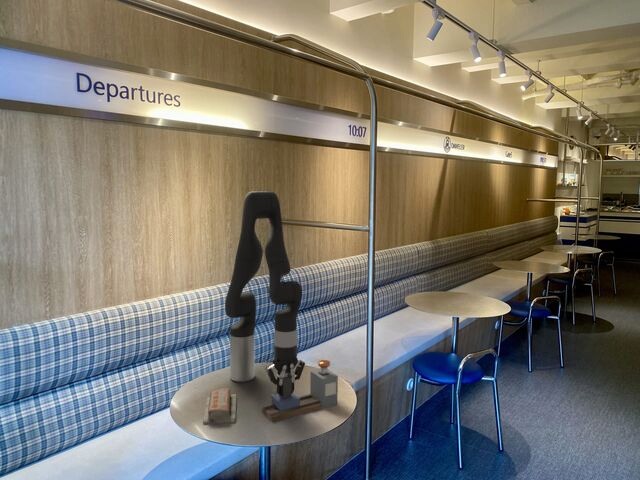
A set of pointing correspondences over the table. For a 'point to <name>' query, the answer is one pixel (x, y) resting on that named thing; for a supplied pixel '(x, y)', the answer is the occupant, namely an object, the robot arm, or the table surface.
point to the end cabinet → (324, 388)
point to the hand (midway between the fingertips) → (285, 393)
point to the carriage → (286, 396)
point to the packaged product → (220, 407)
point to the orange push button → (324, 366)
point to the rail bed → (305, 406)
